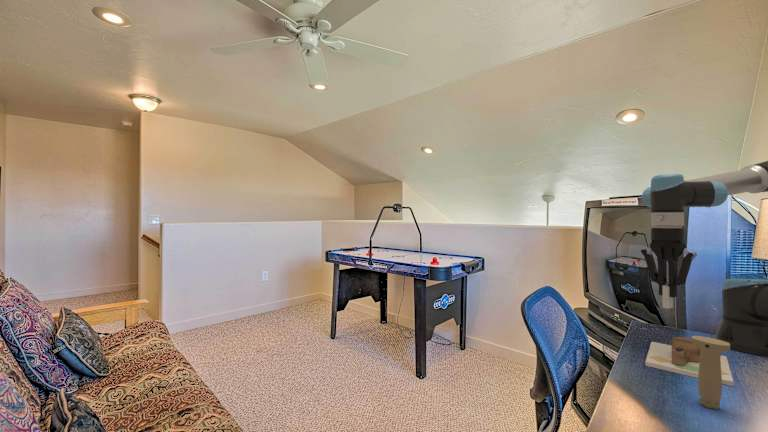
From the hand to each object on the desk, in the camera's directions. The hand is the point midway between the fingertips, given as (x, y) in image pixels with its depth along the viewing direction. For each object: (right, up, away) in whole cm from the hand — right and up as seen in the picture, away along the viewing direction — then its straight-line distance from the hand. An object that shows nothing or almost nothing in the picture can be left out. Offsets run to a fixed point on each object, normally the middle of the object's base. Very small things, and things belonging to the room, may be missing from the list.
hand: (667, 307), depth 101 cm
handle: (-9, -17, -22) cm, 29 cm away
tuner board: (+7, -17, +1) cm, 18 cm away
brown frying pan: (+5, -15, 0) cm, 16 cm away
